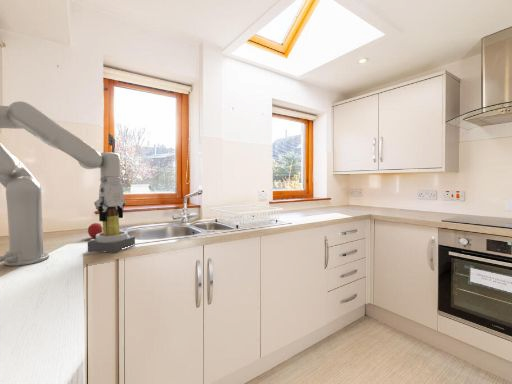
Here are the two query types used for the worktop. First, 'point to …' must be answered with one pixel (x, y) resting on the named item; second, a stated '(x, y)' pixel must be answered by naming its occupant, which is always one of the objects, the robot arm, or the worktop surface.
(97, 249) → the mount
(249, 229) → the worktop surface
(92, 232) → the tomato
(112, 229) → the sauce bottle
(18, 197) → the robot arm
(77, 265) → the worktop surface
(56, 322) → the worktop surface
